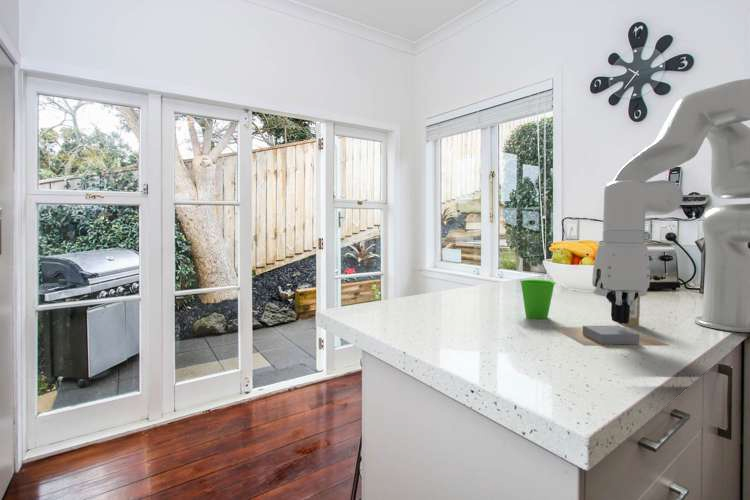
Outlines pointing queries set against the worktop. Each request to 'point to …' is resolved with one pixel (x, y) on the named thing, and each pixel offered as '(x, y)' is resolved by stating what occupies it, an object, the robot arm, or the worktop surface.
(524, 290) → the cup
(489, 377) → the worktop surface
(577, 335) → the board
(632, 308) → the sprinkles bottle
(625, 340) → the tile
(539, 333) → the worktop surface
